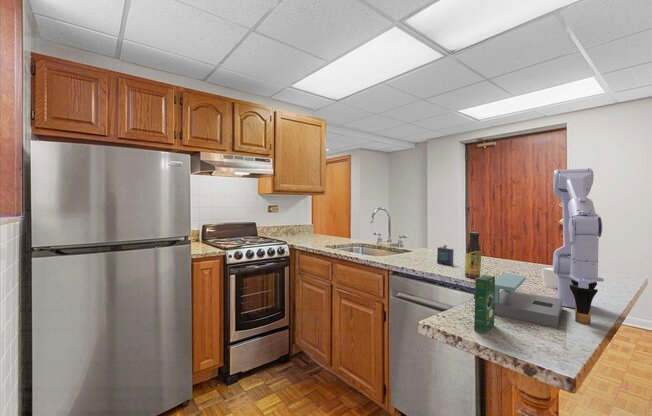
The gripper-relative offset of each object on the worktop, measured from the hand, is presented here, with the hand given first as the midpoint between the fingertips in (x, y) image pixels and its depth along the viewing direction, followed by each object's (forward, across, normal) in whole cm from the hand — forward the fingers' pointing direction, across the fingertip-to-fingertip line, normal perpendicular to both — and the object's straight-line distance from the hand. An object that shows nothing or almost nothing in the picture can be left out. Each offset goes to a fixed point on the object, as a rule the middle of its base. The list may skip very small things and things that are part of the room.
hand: (583, 310), depth 83 cm
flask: (+3, +59, +58) cm, 83 cm away
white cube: (+3, +42, +10) cm, 43 cm away
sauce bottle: (+3, +37, +38) cm, 53 cm away
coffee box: (+4, -23, +19) cm, 30 cm away
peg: (+3, 0, 0) cm, 3 cm away
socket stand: (+3, 0, +13) cm, 13 cm away
